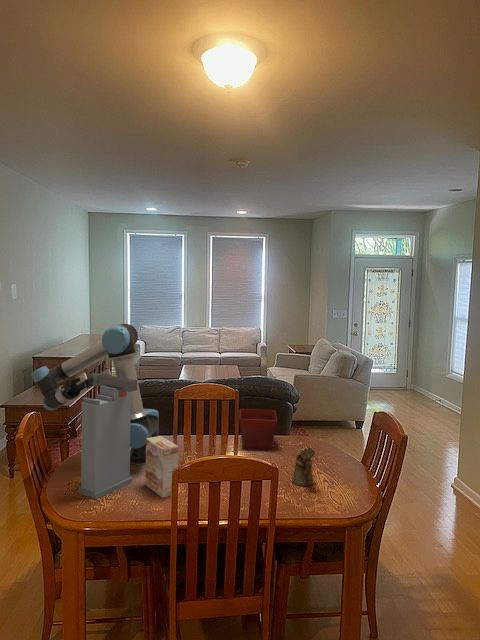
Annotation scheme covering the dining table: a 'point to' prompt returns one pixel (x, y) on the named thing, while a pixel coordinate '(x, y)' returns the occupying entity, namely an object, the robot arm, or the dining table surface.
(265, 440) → the plant pot
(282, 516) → the dining table surface
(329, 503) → the dining table surface
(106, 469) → the stand
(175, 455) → the coffeecake box
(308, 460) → the dark green figurine
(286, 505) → the dining table surface
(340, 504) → the dining table surface
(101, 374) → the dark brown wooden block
